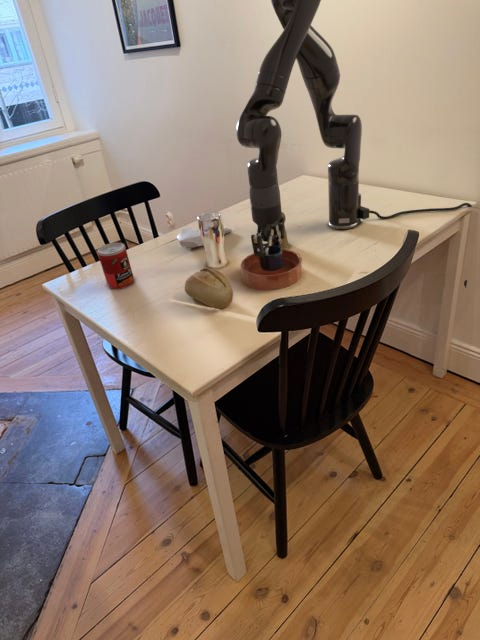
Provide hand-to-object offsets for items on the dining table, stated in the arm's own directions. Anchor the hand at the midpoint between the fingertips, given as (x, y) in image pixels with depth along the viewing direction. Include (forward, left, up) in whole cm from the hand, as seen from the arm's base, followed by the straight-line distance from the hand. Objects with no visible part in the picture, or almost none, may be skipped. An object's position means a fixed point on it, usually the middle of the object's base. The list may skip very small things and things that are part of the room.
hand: (271, 261), depth 125 cm
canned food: (+35, -27, -5) cm, 44 cm away
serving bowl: (0, 0, -4) cm, 4 cm away
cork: (-12, -15, -5) cm, 20 cm away
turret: (+3, -37, -5) cm, 37 cm away
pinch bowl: (0, 0, -1) cm, 1 cm away
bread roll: (+19, 0, -5) cm, 20 cm away
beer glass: (+8, -18, -5) cm, 20 cm away
